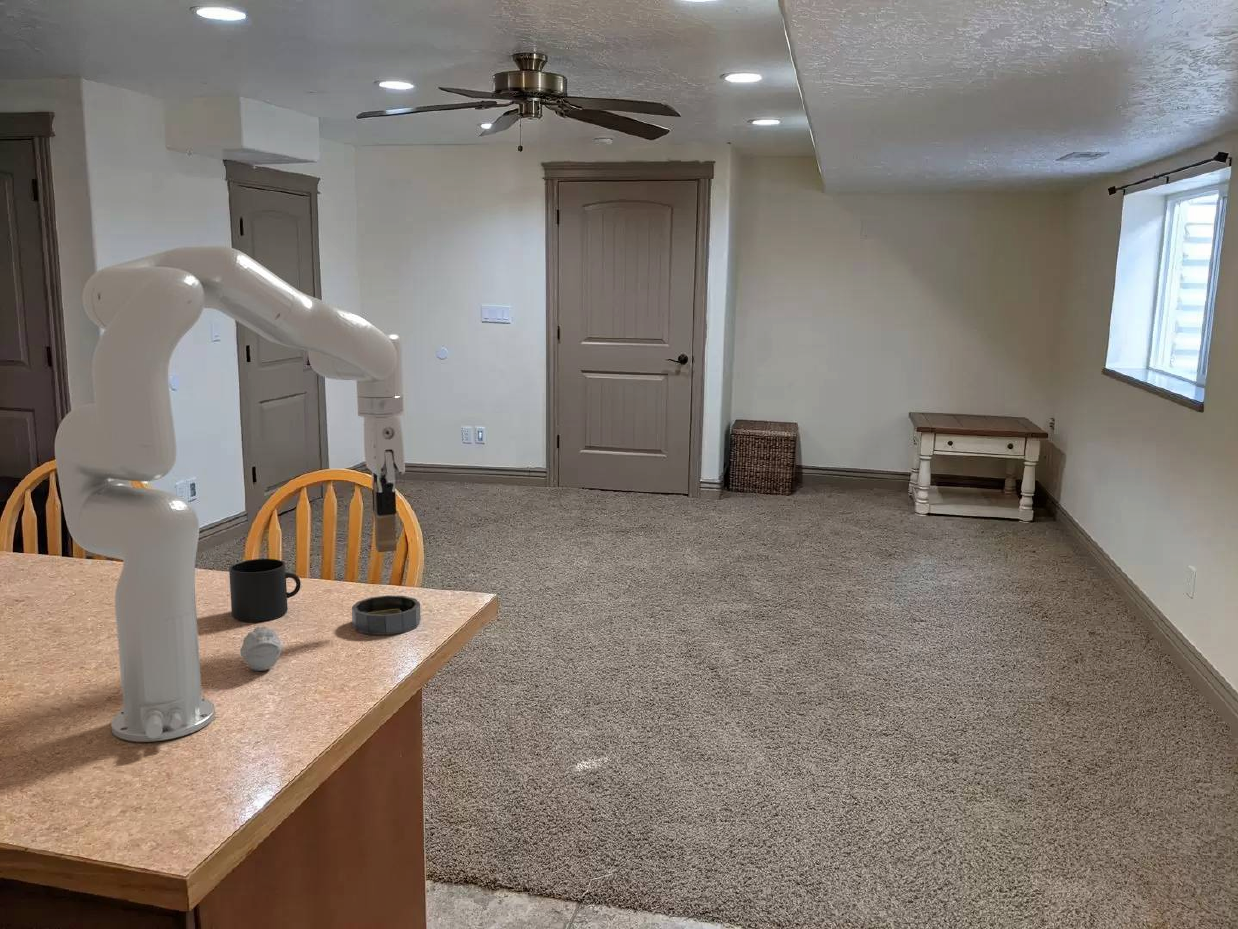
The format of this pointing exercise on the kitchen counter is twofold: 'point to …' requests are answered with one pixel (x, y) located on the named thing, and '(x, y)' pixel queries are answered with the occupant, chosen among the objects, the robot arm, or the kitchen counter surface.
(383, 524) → the brown rectangular bar
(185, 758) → the kitchen counter surface
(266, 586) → the mug
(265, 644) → the frog figurine
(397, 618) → the dark grey round tray
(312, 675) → the kitchen counter surface
